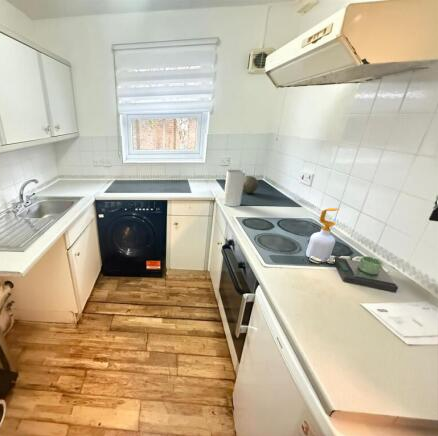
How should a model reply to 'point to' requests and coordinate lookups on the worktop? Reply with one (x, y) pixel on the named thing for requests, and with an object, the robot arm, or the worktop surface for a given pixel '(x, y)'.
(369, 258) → the bowl
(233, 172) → the cylinder vase
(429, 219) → the robot arm
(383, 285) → the scale
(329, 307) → the worktop surface
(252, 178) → the cantaloupe
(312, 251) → the soap bottle
